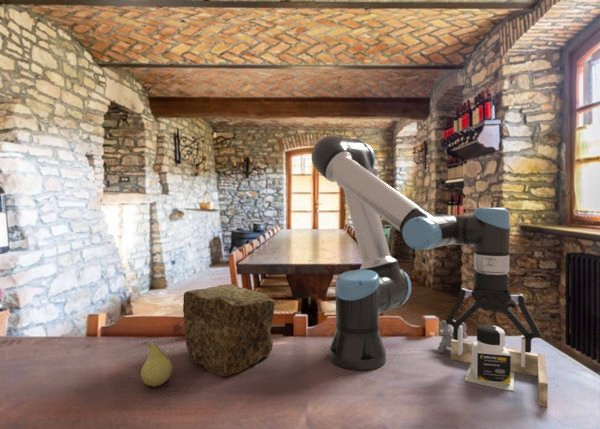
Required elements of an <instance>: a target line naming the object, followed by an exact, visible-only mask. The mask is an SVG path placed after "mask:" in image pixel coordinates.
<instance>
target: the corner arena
mask: <svg viewBox="0 0 600 429" xmlns="http://www.w3.org/2000/svg"><path fill="white" fill-rule="evenodd" d="M506 349H507V350H508V352H509V353H510V355H511V371H510V372H514V373H519V374H523V375H530V376H534V377H536V378H537V380H536V381H537V398H538V406H539V407H543V408H544V407H545V408H548V398H549V396H548V393H549V392H548V390H549V389H548V388H549V386H548V385H549V384H548V375H547V366H546V356H545V354H539V353H534V352H530V353H528V352H525V367H521V350H516V349H512V348H506ZM450 360H455V361H460V362H463V363H464V362H465V363H468V364H472V341H471V342H470V341H466V340H465V341H464V340H463V351H462V354H461V355H458V340H454V339H452V340H451V348H450Z"/></svg>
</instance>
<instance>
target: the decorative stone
mask: <svg viewBox="0 0 600 429" xmlns="http://www.w3.org/2000/svg"><path fill="white" fill-rule="evenodd" d="M182 311H183V312H182V313H183V328H184V336H185V346H186V350H187V351H188V352H187V354H188V355H187V357H188V359H189V360H193V361H195V362H196V363H197V364H198V365H202V366H203V367H204V368H205V369H206V370H208V372H209V373H213V374H216V375H219V376H223V377H228V376H229V375H231V374H235V373H236V374H237V373H239V372H241V371H243V370H245V369H247V368H249V366H250V365H254V364H257V363H258V362H259V361H260V360H261V359H263V358H265V357H269V356H270V355H271V353H272V350H273V345H274V342H273V341H274V340H273V336H272V333H271V330H272V324H273V319H274V316H275V300H274V299H273V297H272V298H271V297H270V296H269V295H267V294H266V293H262V292H257V291H255V290H251V289H248V288H245V287H240V286H239V285H237V284H234V283H231V284H222V285H216V286H211V287H206V288H199V289H192V290H187V291H184V293H183V306H182Z"/></svg>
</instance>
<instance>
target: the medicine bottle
mask: <svg viewBox="0 0 600 429" xmlns="http://www.w3.org/2000/svg"><path fill="white" fill-rule="evenodd" d="M471 342H472V363H471V364H472V369H473V372H474V374H475V376H476V378H477V380H478V381H484V382H494V383H503V384H510V372H512V371H511V355H510V353H509V352H508V350H507V349H508V348H506V345H505V344H506V332H505V330H504V329H503V328H501V327H500V326H497V325H493V324H492V325H491V324H482V325H479V326H478V327H477V328H476V341H474V340H473V341H471Z"/></svg>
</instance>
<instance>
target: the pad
mask: <svg viewBox="0 0 600 429" xmlns="http://www.w3.org/2000/svg"><path fill="white" fill-rule="evenodd" d="M515 374H516V372H513V371H510V384H503V383H494V382H484V381H478V380H477V378H476V376H475V374H474V372H473V369H472V363H469V367H468V370H467V372H466V375H465V378H464V382H469V383H472V384H478V385H482V386H487V387H491V388H495V389H496V388H497V389H500V390H505V391H508V392H514V386H515Z"/></svg>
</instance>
